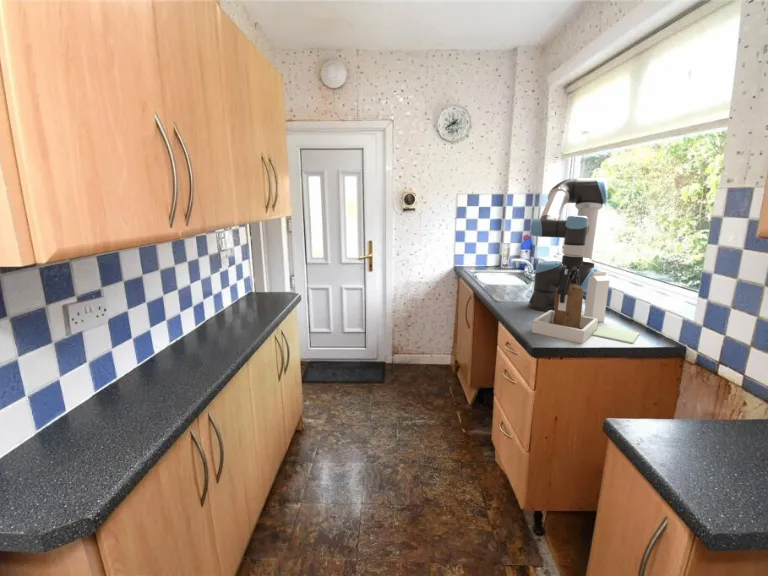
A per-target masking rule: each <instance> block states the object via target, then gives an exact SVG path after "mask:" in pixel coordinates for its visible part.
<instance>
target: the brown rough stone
mask: <svg viewBox="0 0 768 576" xmlns="http://www.w3.org/2000/svg"><path fill="white" fill-rule="evenodd" d="M559 286H560V285H559ZM558 290H559V287H558V288H557V290H556V295H555V305H554V307H555V308H554V310H555V314H554V322H552V324H557V325H562V326H567V327H572V328H577V329H580V328H579V326H580V320H581V316H582V312H583V298H584V297H583V296H584V291H583V288H582V287H581V286H579V285H578V284H574V283H570V285H569V288H568V291H567V294H566V295H567V303H566V311H561V310H558V304H559V295H560V294H557V292H558Z"/></svg>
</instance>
